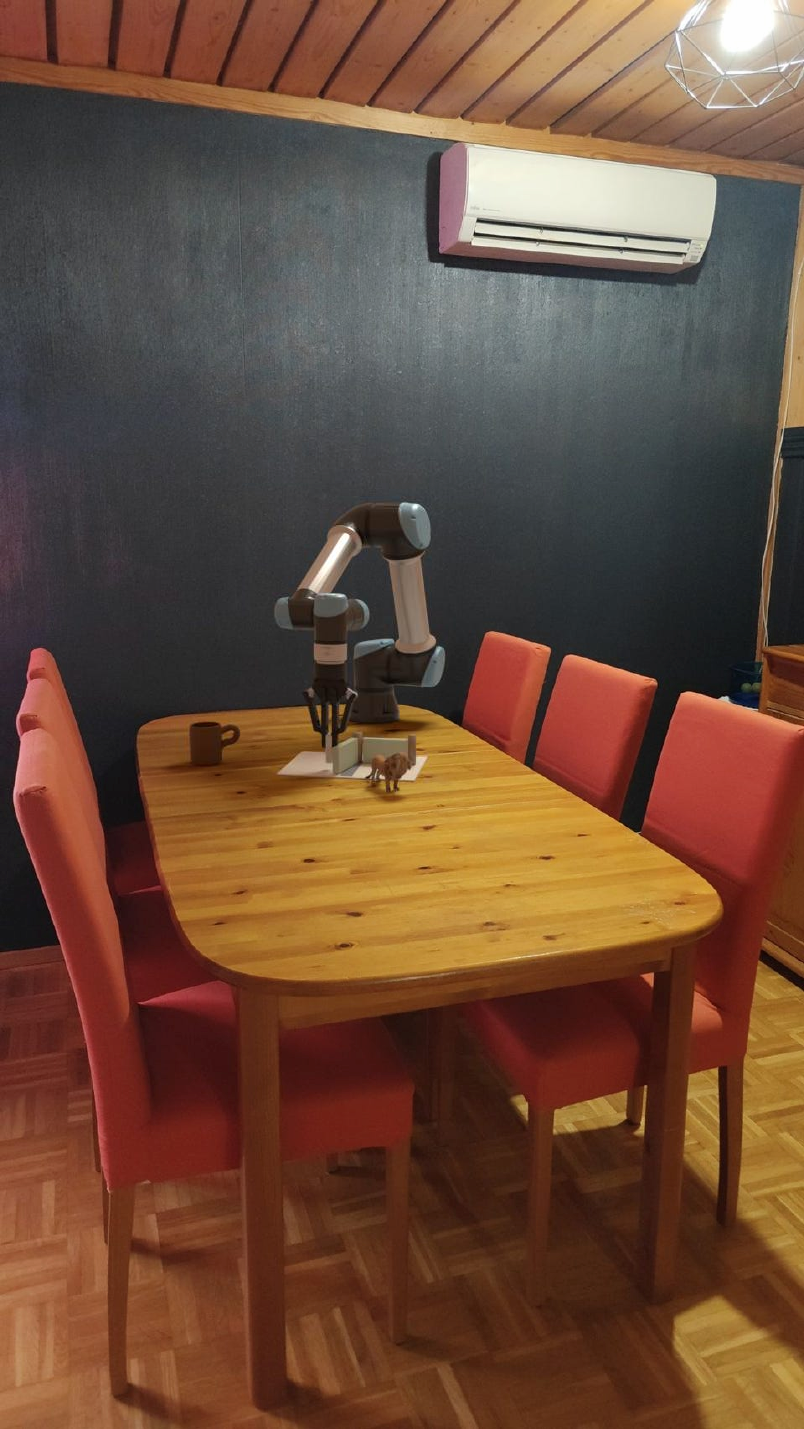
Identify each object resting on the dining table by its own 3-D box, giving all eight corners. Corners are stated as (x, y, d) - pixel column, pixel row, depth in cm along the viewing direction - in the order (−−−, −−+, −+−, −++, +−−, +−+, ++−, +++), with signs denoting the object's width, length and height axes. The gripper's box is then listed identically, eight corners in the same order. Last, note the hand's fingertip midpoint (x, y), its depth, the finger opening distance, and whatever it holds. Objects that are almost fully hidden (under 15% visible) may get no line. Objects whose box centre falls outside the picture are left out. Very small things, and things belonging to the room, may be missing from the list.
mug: (240, 757, 238) (239, 719, 236) (241, 764, 231) (240, 726, 229) (190, 759, 236) (189, 721, 234) (190, 767, 228) (189, 728, 226)
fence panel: (332, 772, 221) (332, 747, 220) (352, 761, 231) (351, 737, 230) (339, 773, 221) (338, 748, 220) (358, 762, 231) (357, 738, 230)
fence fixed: (353, 760, 234) (353, 731, 232) (416, 763, 231) (417, 734, 230) (351, 762, 232) (351, 733, 230) (415, 765, 229) (415, 736, 228)
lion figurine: (416, 792, 208) (416, 752, 206) (397, 797, 205) (397, 756, 203) (374, 778, 219) (374, 740, 217) (355, 782, 216) (355, 743, 214)
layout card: (302, 752, 243) (302, 751, 243) (427, 757, 238) (427, 756, 238) (276, 775, 222) (276, 773, 222) (414, 781, 217) (414, 780, 216)
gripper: (298, 662, 218) (298, 763, 222) (354, 665, 215) (353, 767, 220) (307, 658, 225) (307, 756, 229) (361, 660, 223) (360, 759, 227)
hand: (329, 761), depth 225 cm, fingers closed
